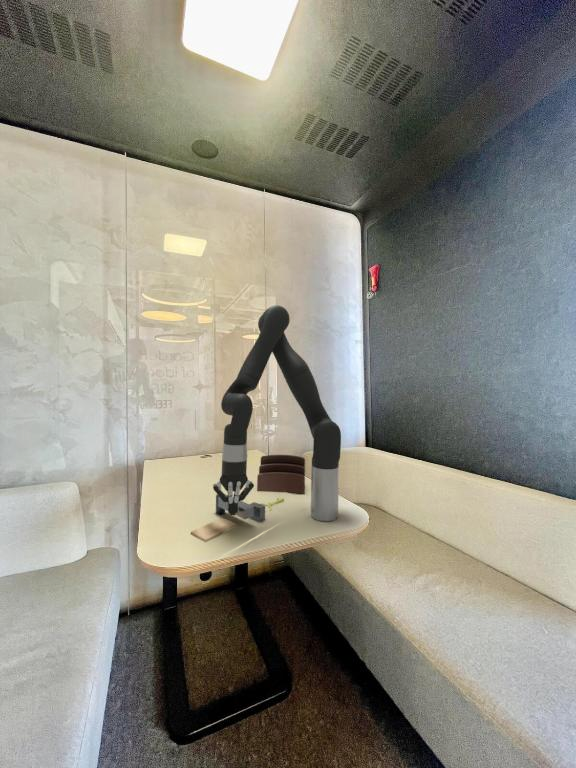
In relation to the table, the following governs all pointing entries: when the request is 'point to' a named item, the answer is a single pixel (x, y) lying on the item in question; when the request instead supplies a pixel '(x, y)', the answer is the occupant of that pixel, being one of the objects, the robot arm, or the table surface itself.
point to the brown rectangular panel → (213, 529)
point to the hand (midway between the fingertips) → (232, 514)
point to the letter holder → (281, 474)
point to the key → (273, 503)
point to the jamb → (258, 512)
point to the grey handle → (243, 508)
